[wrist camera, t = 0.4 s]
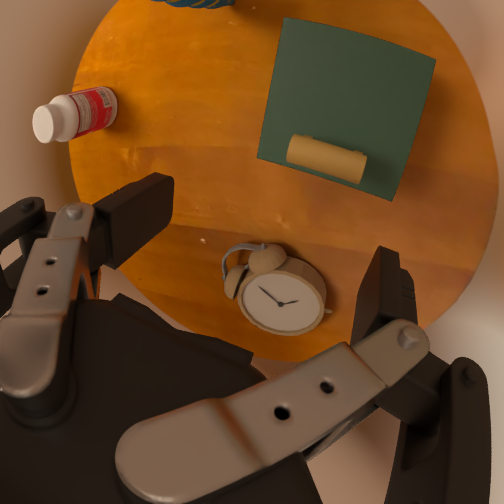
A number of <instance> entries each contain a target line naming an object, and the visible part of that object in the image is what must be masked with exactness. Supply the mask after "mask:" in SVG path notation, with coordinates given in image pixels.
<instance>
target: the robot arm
mask: <svg viewBox="0 0 504 504" xmlns="http://www.w3.org/2000/svg"><path fill="white" fill-rule="evenodd" d="M173 195H174V179H173V177H171V176H167V175H164V174H160V173H157V172H154V173H152V174H150V175H148V176H147V177H145V178H143V179H141V180H139V181H137V182H133V183H129V184H127V185H126V186H124V187H122V188H120V190H119V189H118V190H117V191H115V192H113V194H112V193H111V194H110V195H108V196H106V197H104V198H103V199H101V200H99V201H98V202H96V203H94V204H93V205H90V204H88V203H83V202H76V203H71V204H68V205H65V206H63V207H61V208H60V209H59V210H58V211H57V213H56V212H48V211H46V210H45V204H44V200H43V199H42V198H40V197H28V198H25V199H22V200H20V201H18V202H16V203H15V204H13V205H11V206H10V207H8V208H7V209H5V210H3V211H2V212H0V254H1V252H2V250H3V249H4V248H6V247H7V246H8V245H10V244H11V243H12V242H14V241H15V240H16V239H19V244H20V248H21V251H22V255H21V256H20V257H19V258H18V259H17V260H15V261H14V262H13V263H12V264H10V265H9V266H8V267H7V268H5V270H2V267H1V265H0V318H1V317H2V316H3V315H4V314H5V313H6V312H7V311H8V310H9V309H10V308H11V310H10V313H9V314H8V315H6V316H4V317H2V319H1V320H0V504H323V503H322V501H321V498H320V495H319V493H318V491H317V488H316V486H315V483H314V481H313V479H312V476H311V473H310V471H309V468H308V466H307V462H308V461H310V460H311V459H313V458H314V457H316V456H317V455H318V454H320V453H321V452H323V451H324V450H326V449H327V448H328V447H329V446H331V445H332V444H333V443H334V442H336V441H337V440H338V439H340V438H341V437H342V436H343V435H345V434H346V433H347V432H349V431H350V430H351V429H353V428H354V427H356V426H357V425H358V424H359V423H360V422H362V421H363V420H365V419H366V418H367V417H368V416H370V415H371V414H372V413H373V412H374V411H376V410H377V409H378V408H379V407H381V408H382V409H384V410H386V411H387V412H389V413H390V414H392V415H393V416H395V417H396V418H398V419H400V420H401V423H400V430H399V435H398V441H397V447H396V452H395V457H394V463H393V468H392V472H391V477H390V481H389V486H388V490H387V494H386V498H385V502H384V504H489V496H490V483H491V420H490V405H489V394H488V384H487V379H486V376H485V374H484V372H483V370H482V369H481V367H480V366H479V365H478V364H477V363H475V362H474V361H473V360H471V359H469V358H466V357H459V358H457V359H455V360H454V361H453V362H452V364H451V365H449V364H447V363H446V362H444V361H443V360H441V359H440V358H438V357H436V356H435V355H434V354H432V353H431V352H430V351H429V350H430V342H429V339H428V336H427V335H426V333H425V332H424V331H423V330H422V329H421V328H420V327H419V326H418V321H417V309H416V301H415V293H414V291H415V290H414V281H413V279H412V278H411V276H410V274H409V273H408V271H407V270H404V269H402V268H400V260H399V253H398V252H396V251H393V250H390V249H388V248H385V247H382V246H378V248H377V250H376V252H375V254H374V256H373V258H372V261H371V263H370V265H369V267H368V269H367V272H366V274H365V276H364V278H363V280H362V282H361V285H360V288H359V291H358V295H357V302H356V309H355V316H354V323H353V329H352V335H351V341H350V346H349V345H348V344H347V343H346V342H340V343H338V344H336V345H334V346H332V347H330V348H328V349H327V350H325V351H323V352H321V353H319V354H317V355H315V356H313V357H311V358H310V359H308V360H306V361H304V362H302V363H300V364H298V365H296V366H294V367H292V368H290V369H288V370H286V371H284V372H281V373H279V374H277V375H275V376H273V377H271V378H269V379H267V378H266V377H265V376H264V375H263V374H262V373H261V372H260V371H259V370H257V369H256V368H255V367H253V366H252V365H251V364H250V363H251V360H252V357H253V354H254V353H253V352H250V351H248V350H245V349H243V348H240V347H238V346H235V345H233V344H230V343H228V342H225V341H223V340H221V339H218V338H215V337H210V336H205V335H200V334H195V333H190V332H186V331H182V330H178V329H175V328H174V327H172V326H171V325H170V324H168V323H167V322H166V321H164V320H163V319H162V318H161V317H160V316H158V315H157V314H156V313H155V312H153V311H152V310H151V309H150V308H149V307H147V306H145V305H143V304H141V303H139V302H137V301H135V300H133V299H131V298H129V297H127V296H125V295H123V294H121V293H119V294H117V296H116V297H114V298H113V300H111V301H109V300H102V299H99V291H100V280H101V269H100V266H102V265H103V264H104V265H106V266H109V267H110V268H112V269H114V270H116V268H118V267H119V266H120V265H121V264H123V263H124V262H125V261H126V260H127V259H128V258H130V257H131V256H132V255H133V254H134V253H135V252H137V251H138V250H139V249H140V248H141V247H143V246H144V245H145V244H146V243H147V242H149V241H150V240H151V239H152V238H153V237H155V236H156V235H157V234H158V233H159V232H161V231H162V230H163V229H164V228H166V227H167V225H168V224H169V222H170V220H171V217H172V212H173Z"/></svg>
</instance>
